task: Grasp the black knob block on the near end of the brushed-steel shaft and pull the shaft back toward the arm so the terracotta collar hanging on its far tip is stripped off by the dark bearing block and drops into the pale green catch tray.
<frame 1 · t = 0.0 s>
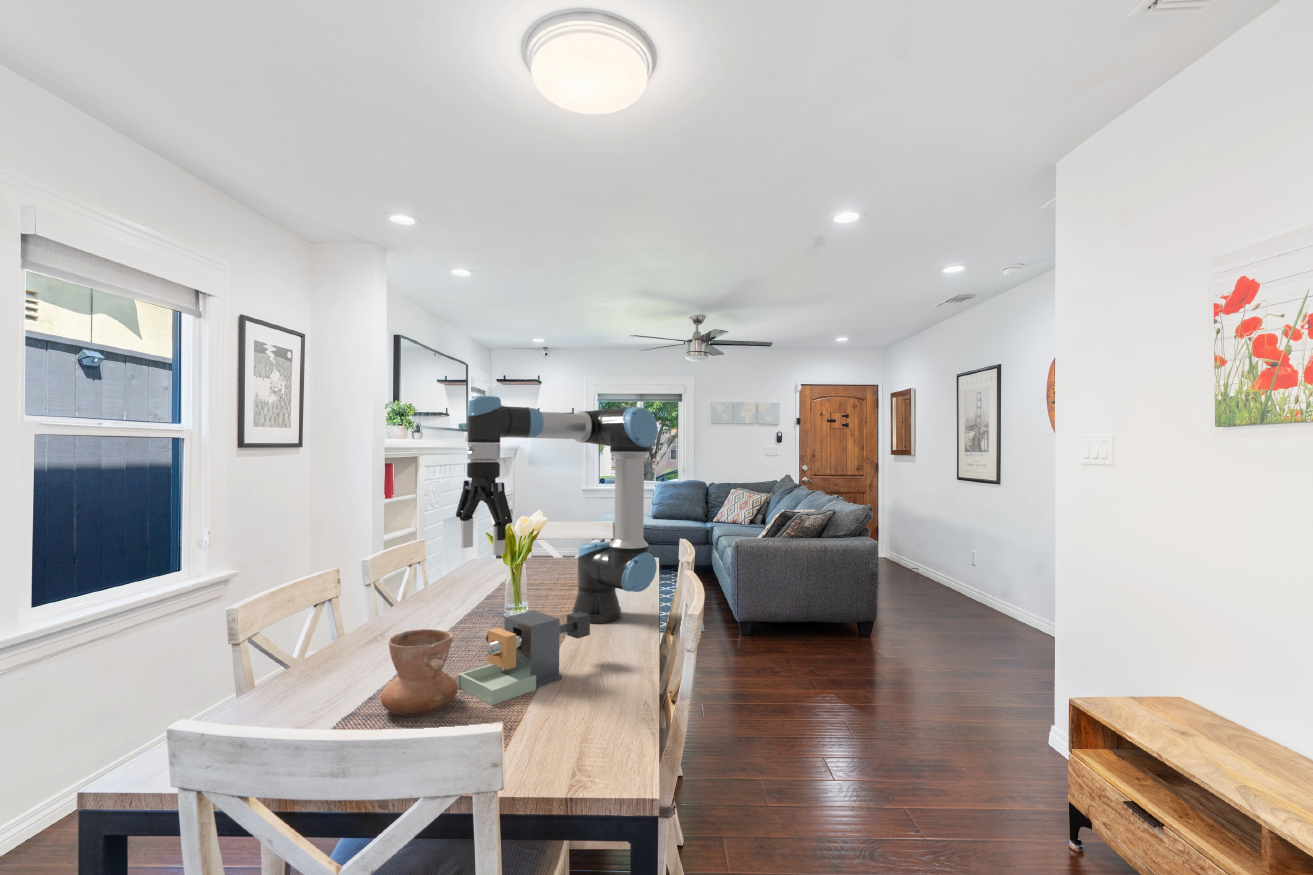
hand: (482, 550, 145), 28 cm above the table, fingers open, 13 cm apart
bearing block: (531, 677, 140), on the table
catch tray: (497, 688, 133), on the table
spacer: (501, 648, 134), point 8 cm above the table, touching shaft
stone: (506, 653, 157), on the table
ceramic jug: (418, 707, 124), on the table
shaft: (540, 635, 142), point 9 cm above the table, slide at 0.0 cm, touching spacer
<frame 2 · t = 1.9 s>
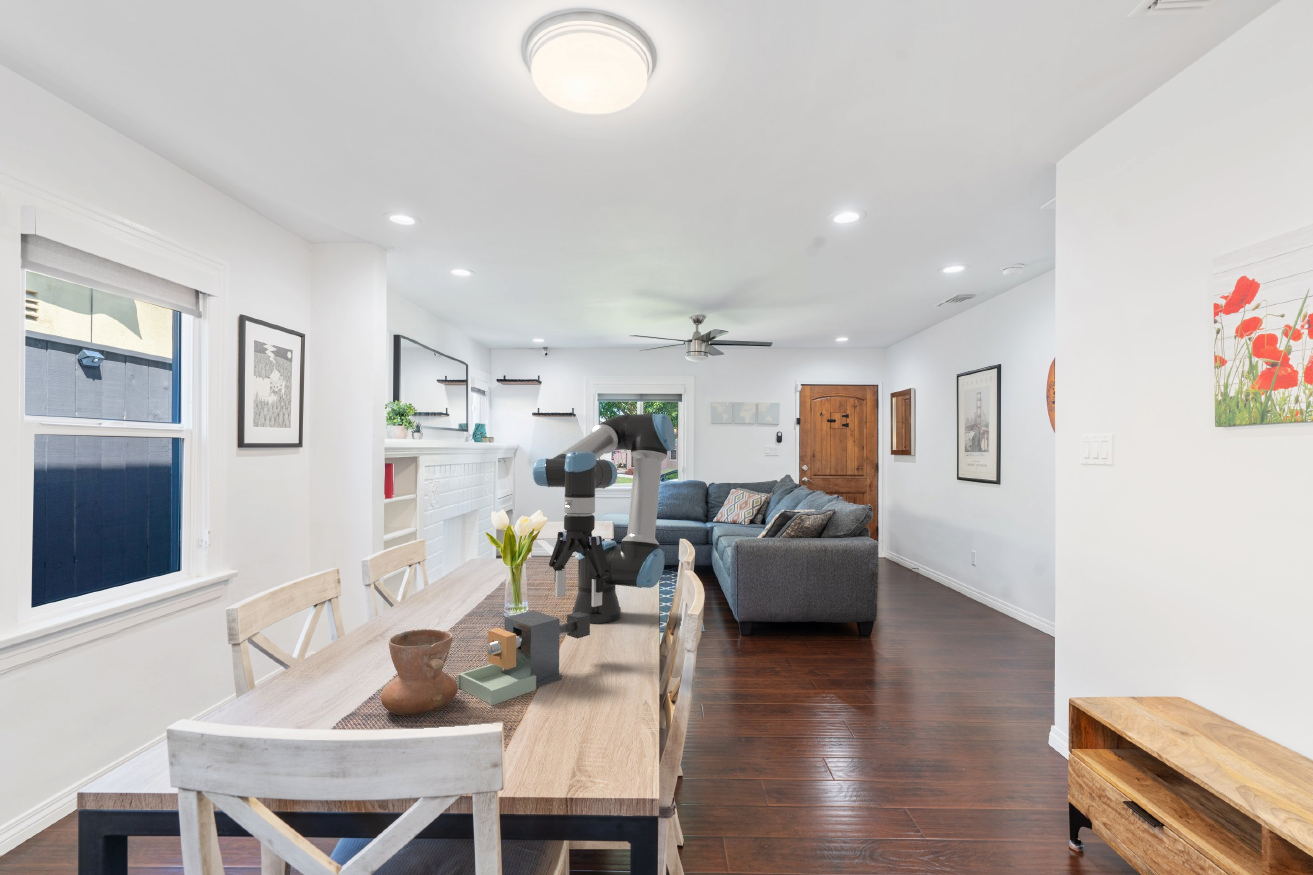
hand: (578, 600, 150), 15 cm above the table, fingers open, 13 cm apart
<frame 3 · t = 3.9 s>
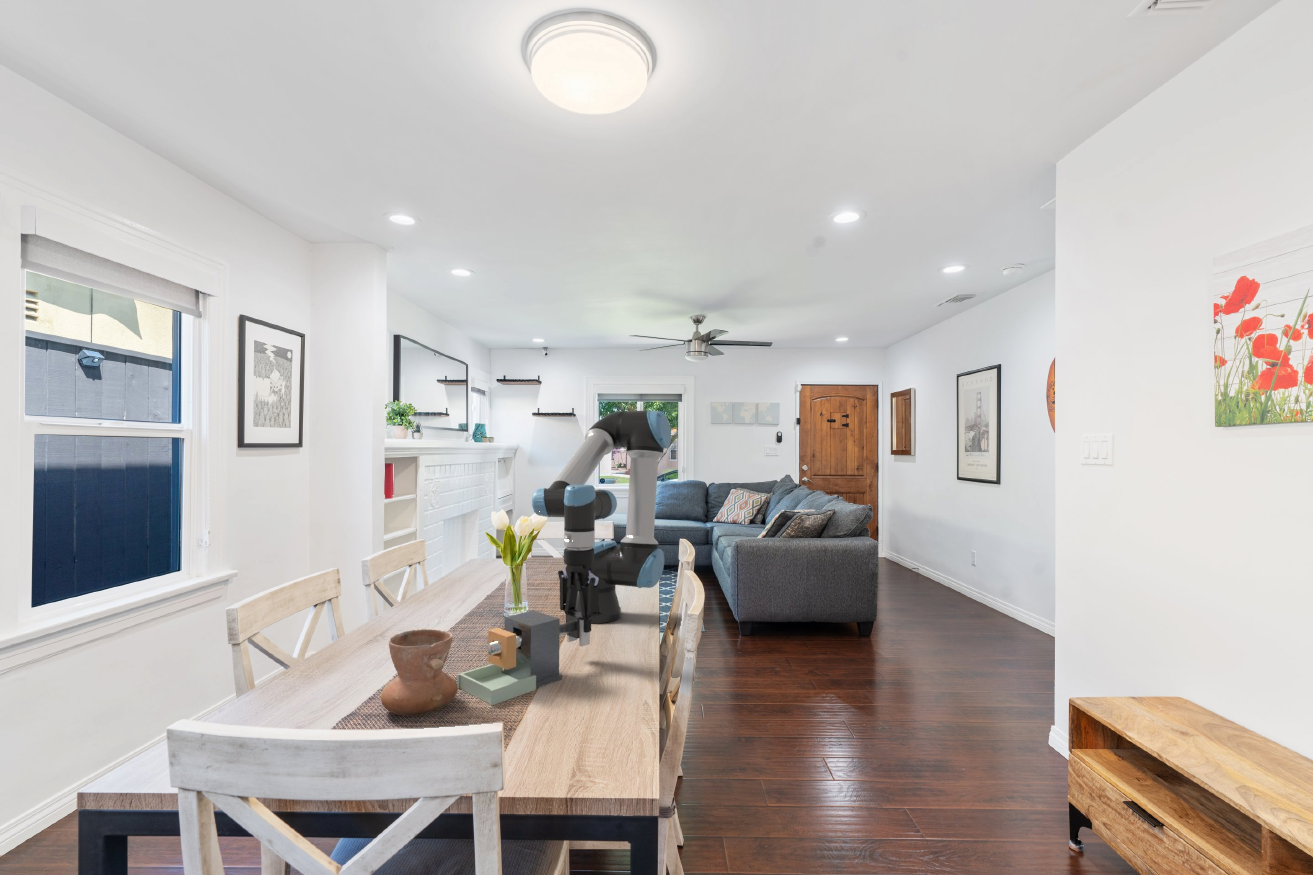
hand: (578, 642, 150), 5 cm above the table, fingers closed on shaft, 4 cm apart
shaft: (540, 635, 142), point 9 cm above the table, slide at 0.0 cm, touching gripper, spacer
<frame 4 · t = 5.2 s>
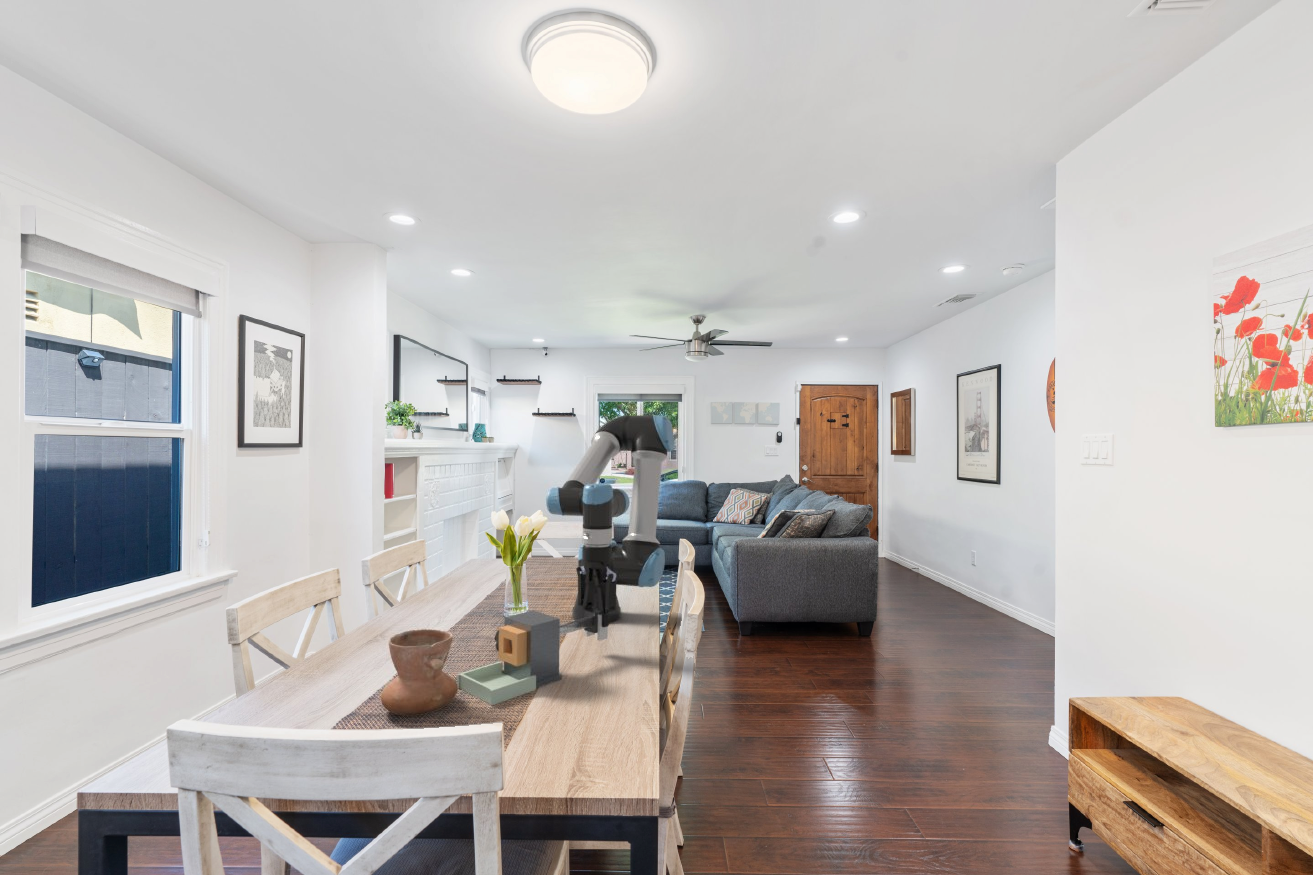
hand: (596, 636, 155), 5 cm above the table, fingers closed on shaft, 4 cm apart
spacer: (512, 645, 136), point 9 cm above the table, touching bearing block, shaft
shaft: (559, 629, 146), point 9 cm above the table, slide at 5.7 cm, touching gripper, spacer
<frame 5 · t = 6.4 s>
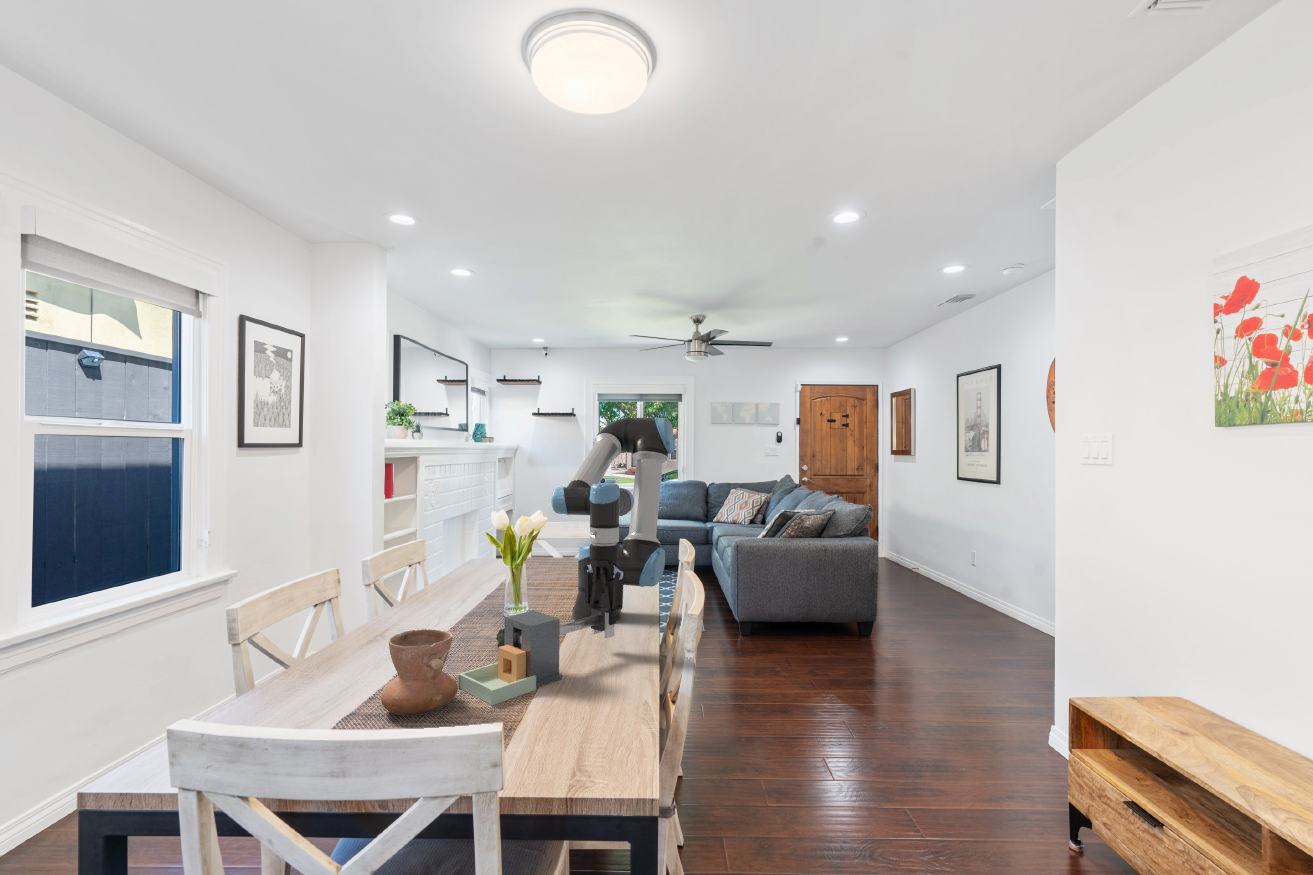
hand: (603, 634, 157), 5 cm above the table, fingers closed on shaft, 4 cm apart
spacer: (511, 665, 136), point 4 cm above the table, touching catch tray
shaft: (567, 627, 148), point 9 cm above the table, slide at 7.9 cm, touching gripper
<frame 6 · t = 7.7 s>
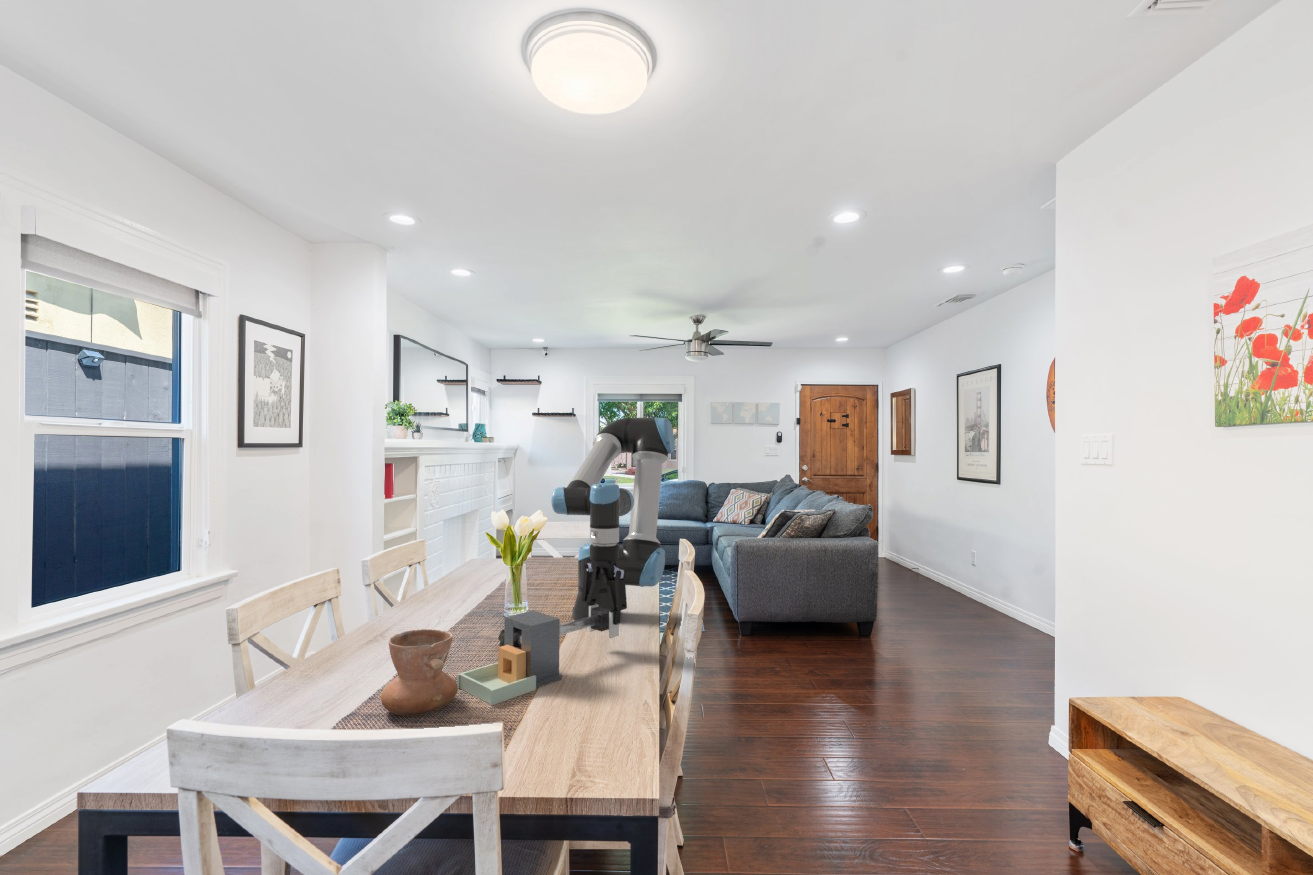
hand: (603, 633, 157), 5 cm above the table, fingers open, 7 cm apart
shaft: (567, 627, 148), point 9 cm above the table, slide at 7.9 cm
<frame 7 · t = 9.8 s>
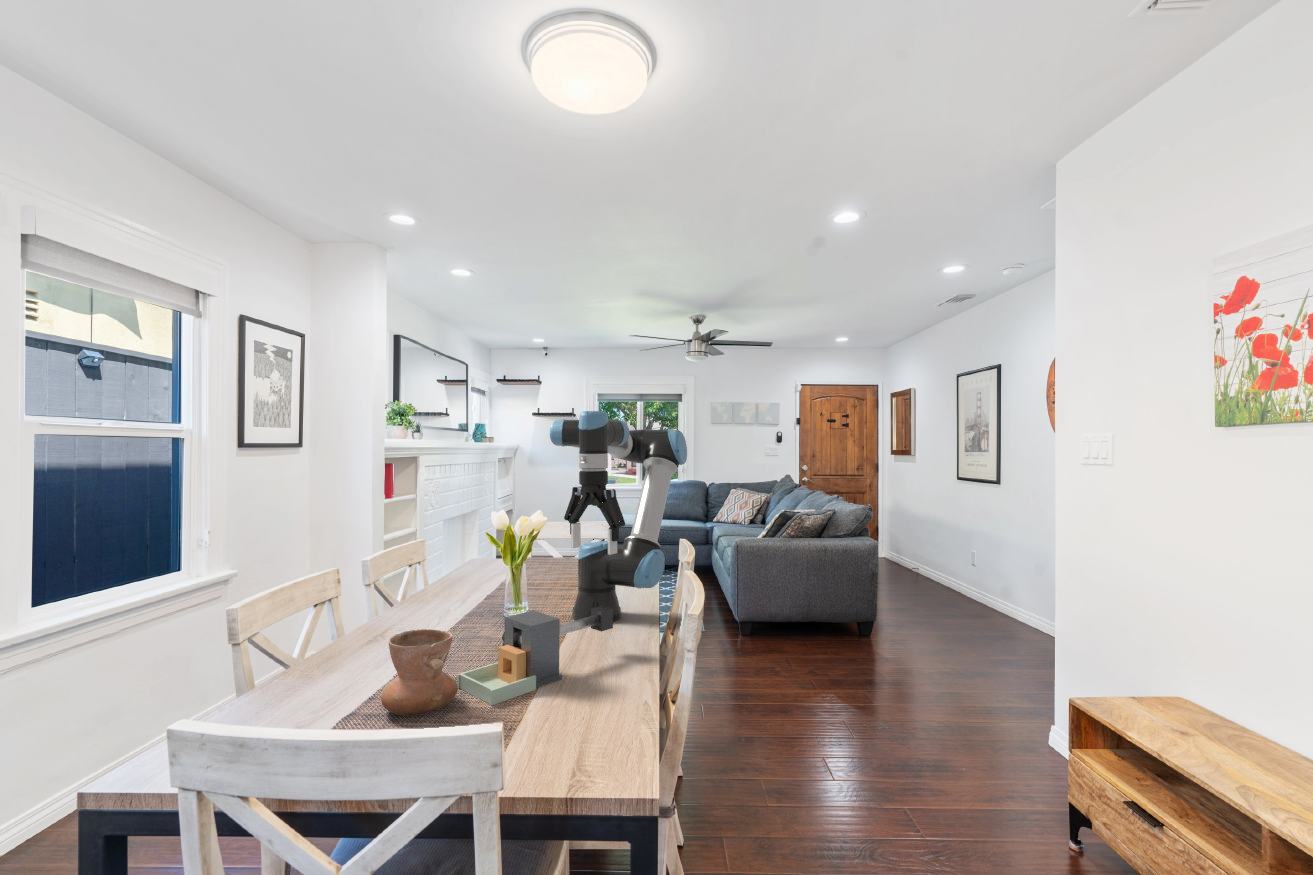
hand: (593, 550, 161), 26 cm above the table, fingers open, 13 cm apart
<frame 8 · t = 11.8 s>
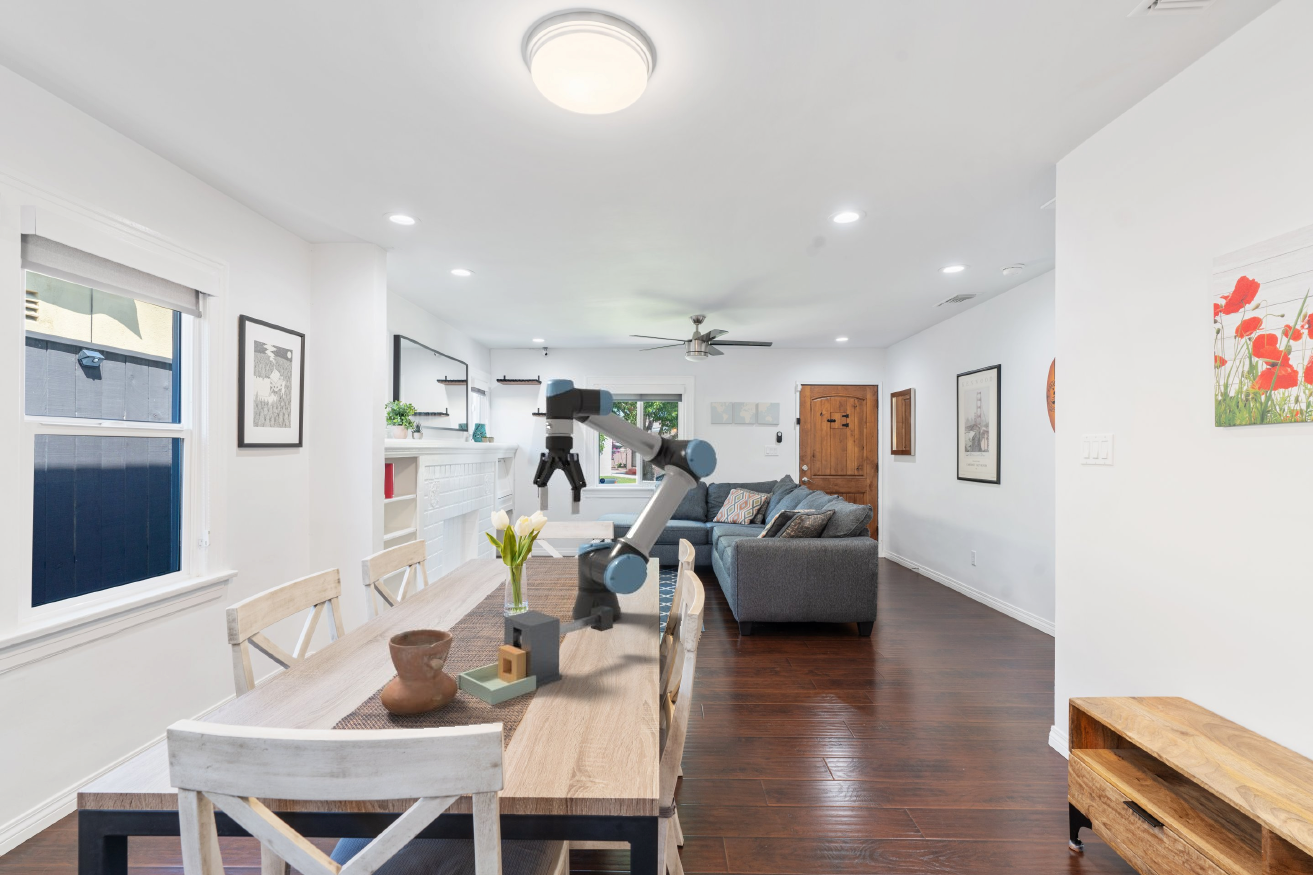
hand: (558, 512, 169), 35 cm above the table, fingers open, 13 cm apart
at the end: shaft slide at 7.9 cm; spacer point 4.1 cm above the table; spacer inside the target area (3.6 cm from its centre), point 4.1 cm above the table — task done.
